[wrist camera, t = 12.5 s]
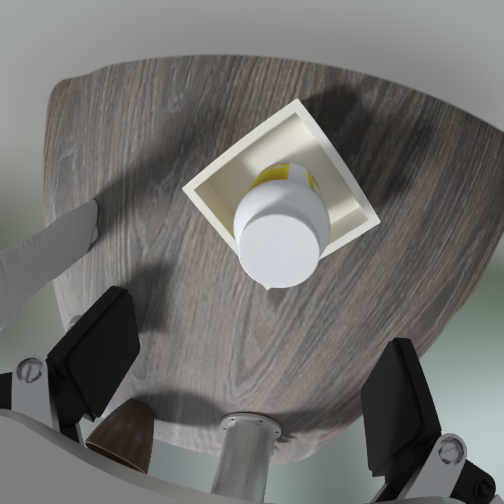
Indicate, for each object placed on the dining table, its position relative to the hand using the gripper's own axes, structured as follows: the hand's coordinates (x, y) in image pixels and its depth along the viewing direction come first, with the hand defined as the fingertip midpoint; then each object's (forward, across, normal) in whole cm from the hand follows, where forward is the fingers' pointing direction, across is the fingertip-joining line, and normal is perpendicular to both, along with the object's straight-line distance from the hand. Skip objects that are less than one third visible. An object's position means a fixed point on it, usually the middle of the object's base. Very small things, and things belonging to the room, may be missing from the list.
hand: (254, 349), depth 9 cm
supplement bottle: (+20, 0, -1) cm, 20 cm away
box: (+21, 0, -1) cm, 21 cm away
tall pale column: (+21, +26, +8) cm, 34 cm away
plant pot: (+22, +24, +53) cm, 62 cm away
